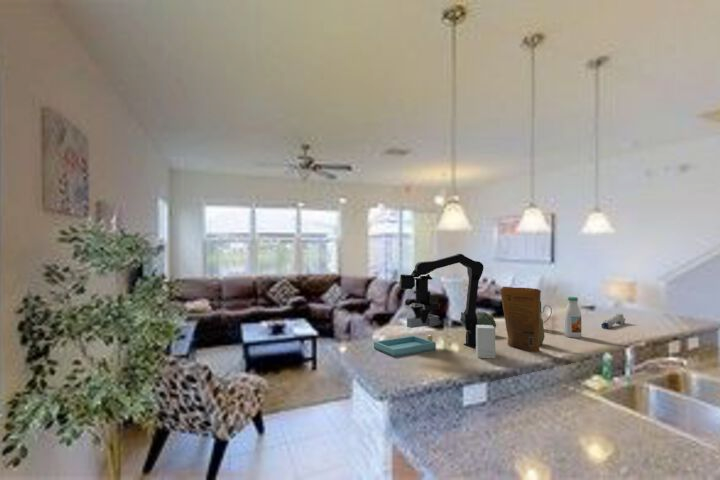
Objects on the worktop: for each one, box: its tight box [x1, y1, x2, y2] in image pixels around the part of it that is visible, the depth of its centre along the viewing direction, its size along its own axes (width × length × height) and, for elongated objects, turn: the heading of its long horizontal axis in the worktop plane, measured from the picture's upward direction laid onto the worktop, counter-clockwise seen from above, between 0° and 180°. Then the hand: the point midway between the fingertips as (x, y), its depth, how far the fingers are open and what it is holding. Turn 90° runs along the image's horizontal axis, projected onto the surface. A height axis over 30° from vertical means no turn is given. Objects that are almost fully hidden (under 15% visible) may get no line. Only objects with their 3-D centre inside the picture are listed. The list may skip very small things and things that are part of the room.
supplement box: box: [475, 325, 496, 359], centre depth 179 cm, size 7×7×13 cm
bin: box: [373, 335, 437, 357], centre depth 191 cm, size 16×23×3 cm
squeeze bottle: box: [538, 314, 546, 346], centre depth 198 cm, size 8×8×18 cm
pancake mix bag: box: [499, 286, 542, 353], centre depth 191 cm, size 7×19×28 cm, turn 36°
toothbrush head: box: [601, 312, 626, 330], centre depth 238 cm, size 5×7×25 cm
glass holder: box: [540, 300, 553, 324], centre depth 230 cm, size 9×14×15 cm, turn 43°
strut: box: [406, 313, 440, 329], centre depth 195 cm, size 16×6×4 cm, turn 121°
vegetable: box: [476, 311, 497, 329], centre depth 221 cm, size 12×13×15 cm
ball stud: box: [427, 334, 433, 342], centre depth 202 cm, size 2×2×4 cm
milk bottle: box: [563, 296, 582, 339], centre depth 213 cm, size 8×8×20 cm
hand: (421, 322), depth 195 cm, fingers closed on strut, 3 cm apart
